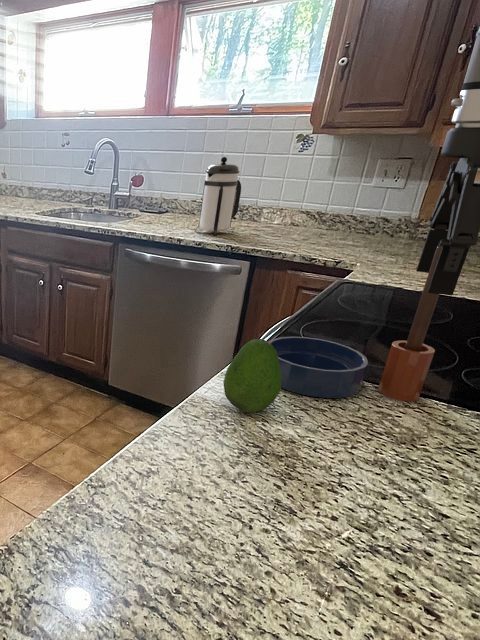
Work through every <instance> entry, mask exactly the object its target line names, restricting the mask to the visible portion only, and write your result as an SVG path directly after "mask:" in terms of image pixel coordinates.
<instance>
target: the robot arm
mask: <svg viewBox="0 0 480 640" xmlns="http://www.w3.org/2000/svg"><path fill="white" fill-rule="evenodd" d="M475 36H476V38H475V42H474V46H473V49H472V52H471V56H470V59H469V62H468V67H467V70H466V72H465V76H464V80H463V84H462V85H461V89H460V93H459V98H453V99H452V100H451V103H450V106H451V107H453V108H455V107H456V108H455V109H454V111H453V115H452V117H451V118H452V119H451V122H452V124H455V126H454V127H452V128H451V127H450V129H449V130H447V133H446V135H445V139H444V142H443V145H442V148H441V151H440V155H441V157H443V158H448V159H449V158H450V159H451V158H452V159H459V160H458V161H453V162H452V163H451V164H450V166H449V168H450V169H449V171H448V174H447V176H446V179H445V182H444V184H443V187H442V189H441V192H440V194H439V196H438V199H437V201H436V203H435V207H434V209H433V210H432V213H431V216H430V217H429V219H428V220H429V229H428V233H427V236H426V238H425V241H424V244H423V248H422V251H421V254H420V257H419V260H418V263H417V266H416V269H415V271H416V273H417V272H418V273H425V274H428V273H429V270H430V267H431V264H432V261H433V258H434V255H435V252H436V248H437V246H442V249H441V252H440V255H439V258H438V261H437V264H436V267H435V270H434V273H433V276H432V279H431V282H430V285H429V288H428V291H427V292H428V293H433V294H439V295H444V296H453V295H454V294H455V293H454V292H455V289H456V287H457V284H458V281H459V279H460V275H461V273H462V270H463V267H464V264H465V262H466V259H467V257H468V253H469V251H470V250H469V249H470V248H471V247H472V246H473V247H474V246H475V245H477V243H478V239H479V238H478V236H479V233H480V27H479V28H478V31H476V35H475Z"/></svg>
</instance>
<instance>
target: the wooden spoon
mask: <svg viewBox="0 0 480 640" xmlns="http://www.w3.org/2000/svg"><path fill="white" fill-rule="evenodd" d="M441 249H442V246H437V248H436V252H435V255H434V258H433V261H432V264H431V267H430V270H429V273H427V277H426V280H425V283H424V286H423V289H422V292H421V294H420V295H421V296H420V298H419V301H418V305H417V308H416V311H415V314H414V317H413V321H412V324H411V327H410V330H409V332H408V336H407V339H406V341H407V342H406V345H405V348H404V349H407V350H411V351H418V352H420V350H421V347H422V344H424V342H425V338H426V335H427V333H428V329H429V327H430V324H431V320H432V317H433V315H434V311H435V308H436V305H437V302H438V300H439V297H440V294H433V293H428V292H427V291H428V288H429V285H430V282H431V279H432V276H433V273H434V270H435V267H436V264H437V261H438V258H439V255H440V252H441Z"/></svg>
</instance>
